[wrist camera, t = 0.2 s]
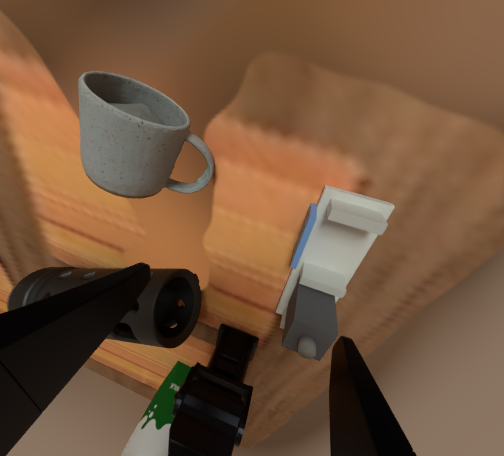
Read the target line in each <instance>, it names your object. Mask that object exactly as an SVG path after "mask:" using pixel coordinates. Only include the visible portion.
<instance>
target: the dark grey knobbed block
mask: <svg viewBox="0 0 504 456" xmlns="http://www.w3.org/2000/svg"><path fill="white" fill-rule="evenodd" d="M299 280H300V276H299V279H298V281H297V283H296V286H295V288H294V290H293V293H292V295H291V297H290V300H289V303H288V309H287V315H286V321H285V326H284V332H283V338H282V344H281V346H283V347H285V348H288V349H291V350H293V351H296V352H298V354H299V355H300V356H302V357H304V358H307V359H312V358H314V359H316V360H319V361H320V360H321V358H322V357H323V356H324V354H325V353H326V351H327V350H328V349H329V347H330V346H331V344H332V343H333V342H334V340H335V339H336V337H337V336H338V333H337V318H336V304H335V296H334V295H331V294H328V293H325V292H322V291H319V290H316V289H313V288H311V287H308V286H305V285H302V284H299Z"/></svg>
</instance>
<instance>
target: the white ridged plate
mask: <svg viewBox="0 0 504 456" xmlns="http://www.w3.org/2000/svg"><path fill="white" fill-rule="evenodd" d="M394 208H395V206H394V205H393V204H392V203H389V202H385V201H382V200H378V199H375V198H371V197H367V196H364V195H360V194H357V193H353V192H349V191H346V190H342V189H338V188H335V187H331V186H328V185H325V186H324V189H323V192H322V194H321V197H320V199H319V202H318V204H317V205H316V204H312V203H311V205H310V208H309V210H308V213H307V216H306V218H305V221H304V224H303V226H302V229H301V232H300V234H299V237H298V240H297V242H296V245H295V247H294V250H293V255H292V260H291V265H290V267H291V268H292V270H291V273H290V275H289V278H288V280H287V283H286V285H285V288H284V290H283V293H282V295H281V298H280V300H279V303H278V306H277V308H276V313H278V314H281V315H282V318H281V323H280V328H282V329H284V326H285V321H286V315H287V309H288V303H289V300H290V297H291V295H292V293H293V290H294V288H295V286H296V283H297V281H298V279H299V276H300V280H299V284H302V285H305V286H308V287H311V288H313V289H316V290H319V291H322V292H325V293H328V294H331V295H334V296H335V304H336V302H337V300H338V299H339V297H340V298H343V296H344V295H345V293H346V286H347V284H348V282H349V281H350V279H351V278H352V276H353V274H354V273H355V271H356V269H357V268H358V266H359V265H360V263H361V261H362V260H363V258H364V256H365V255H366V253H367V251H368V250H369V248H370V247H371V245H372V243H373V242H374V240H375V238H376V237H377V235H378V234H379V235H382V234H383V233H384V231H385V229H386V228H387V226H388V224H387V222H386V221H387V219H388V217H389V216H390V214H391V212H392V211H393V209H394Z"/></svg>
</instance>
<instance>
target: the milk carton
mask: <svg viewBox="0 0 504 456" xmlns="http://www.w3.org/2000/svg"><path fill="white" fill-rule="evenodd" d="M190 369H191V368H190V367H188V366H186V365H184V364H183V363H181V362H179V361H178V362H177V363H176V365H175V366H174V368H173V369H172V370H171V372H170V373H169V375H168V376H167V377H166V379H165V380H164V382H163V383H162V385H161V386H160V388H159V389H158V391H157V392H156V394H155V396H154V398H153V399H152V401H151V403H150V405H149V406H148V408H147V410H146V411H145V413H144V415H143V417H142V419H141V420H140V422H139V424H138V425H137V427H136V429H135V430H134V432H133V434H132V436H131V438H130V439H129V441H128V443H127V445H126V446H125V449H124V451H123V452H122V454H121V455H120V456H168V445H169V429H170V426H171V424H172V422H173V420H174V417H173V416H172V412H173V409H174V408H173V407H174V404H175V403H174V396H175V394H176V392H177V391H178V389H179V388H180V386H181V385H182V383H183V382H184V381H185V379H186V377H187V375H188V373H189V371H190Z"/></svg>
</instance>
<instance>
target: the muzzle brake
mask: <svg viewBox="0 0 504 456" xmlns="http://www.w3.org/2000/svg"><path fill="white" fill-rule="evenodd" d="M119 270H122V269H77V268H73V267H49V268H44V269H40V270H37V271H35V272H33V273H31V274H29V275H28V276H26V277H25V278H23V279H22V280H21V281H20V282H19V283H18V284H17V285H15V287H14V288H13V289H12V291H11V292H10V294H9V296H8V300H7V309H8V311H11V310H14V309H17V308H19V307H22V306H25V305H28V304H31V303H33V302H36V301H39V300H41V299H44V298H48V297H50V296H52V295H55V294H58V293H60V292H63V291H66V290H68V289H71V288H74V287H76V286H79V285H82V284H84V283H87V282H90V281H92V280H95V279H98V278H100V277H103V276H106V275H108V274H111V273H114V272H116V271H119ZM150 273H151V279H150V282H149V283H148V285H147V286H146V287H145V289H144V290H143V292H142V293H141V295H140V296H139V298H138V299H137V300H136V302H135V303H134V305H133V306H132V307H131V309H130V310H129V311H128V313H127V314H126V315H125V316H124V317H123V319H122V320H121V321H120V322H119V323H118V324H117V326H116V327H115V328H114V329H113V330H112V331H111V333H110V334H109V335H108V336H107V337H106V339H112V340H119V341H125V342H132V343H138V344H144V345H151V346H157V347H164V348H175V347H177V346H179V345H181V344H182V343H183V342H184V341H185V340H186V339H187V338H188V337H189V336H190V334H191V332H192V331H193V329H194V327H195V325H196V323H197V320H198V317H199V313H200V308H201V290H200V286H199V279H198V277H197V275H196V274H193V273H192V272H191V271H189V270H187V269H150ZM180 299H182V301H183V302H184V303H185V306H183V305H182V306H178V302H179V300H180ZM176 323H177V326H176V327H174V328H171V326H173V325H175V324H176Z"/></svg>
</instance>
